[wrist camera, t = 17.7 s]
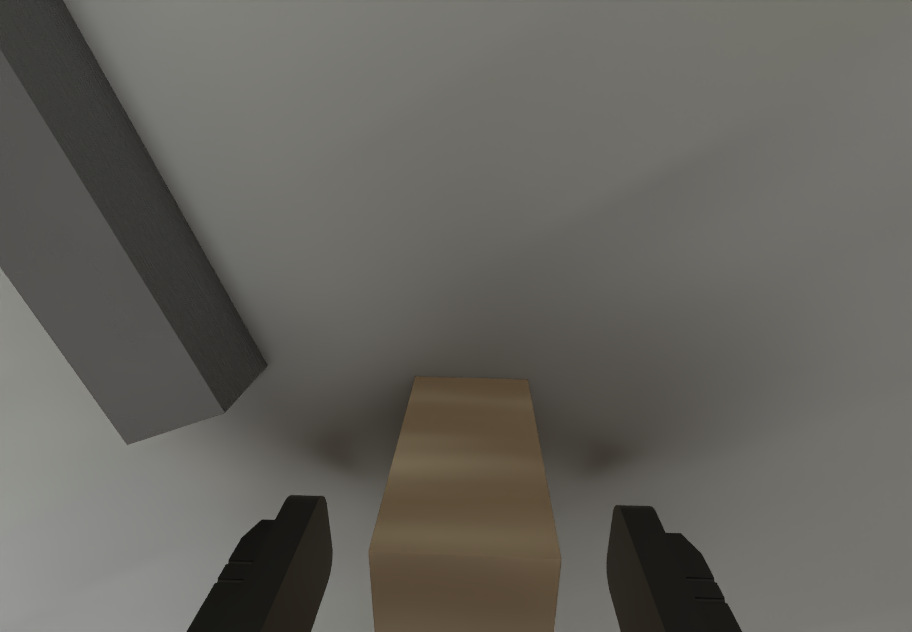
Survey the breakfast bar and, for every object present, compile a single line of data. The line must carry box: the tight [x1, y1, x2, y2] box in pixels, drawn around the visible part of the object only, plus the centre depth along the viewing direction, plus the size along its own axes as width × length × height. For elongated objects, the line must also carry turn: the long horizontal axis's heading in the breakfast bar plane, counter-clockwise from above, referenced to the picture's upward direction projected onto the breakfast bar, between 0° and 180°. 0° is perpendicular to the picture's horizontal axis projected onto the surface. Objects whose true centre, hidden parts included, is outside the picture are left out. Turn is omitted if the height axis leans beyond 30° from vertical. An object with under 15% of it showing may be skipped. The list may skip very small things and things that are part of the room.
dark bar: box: [0, 0, 267, 445], centre depth 10 cm, size 10×2×2 cm, turn 21°
